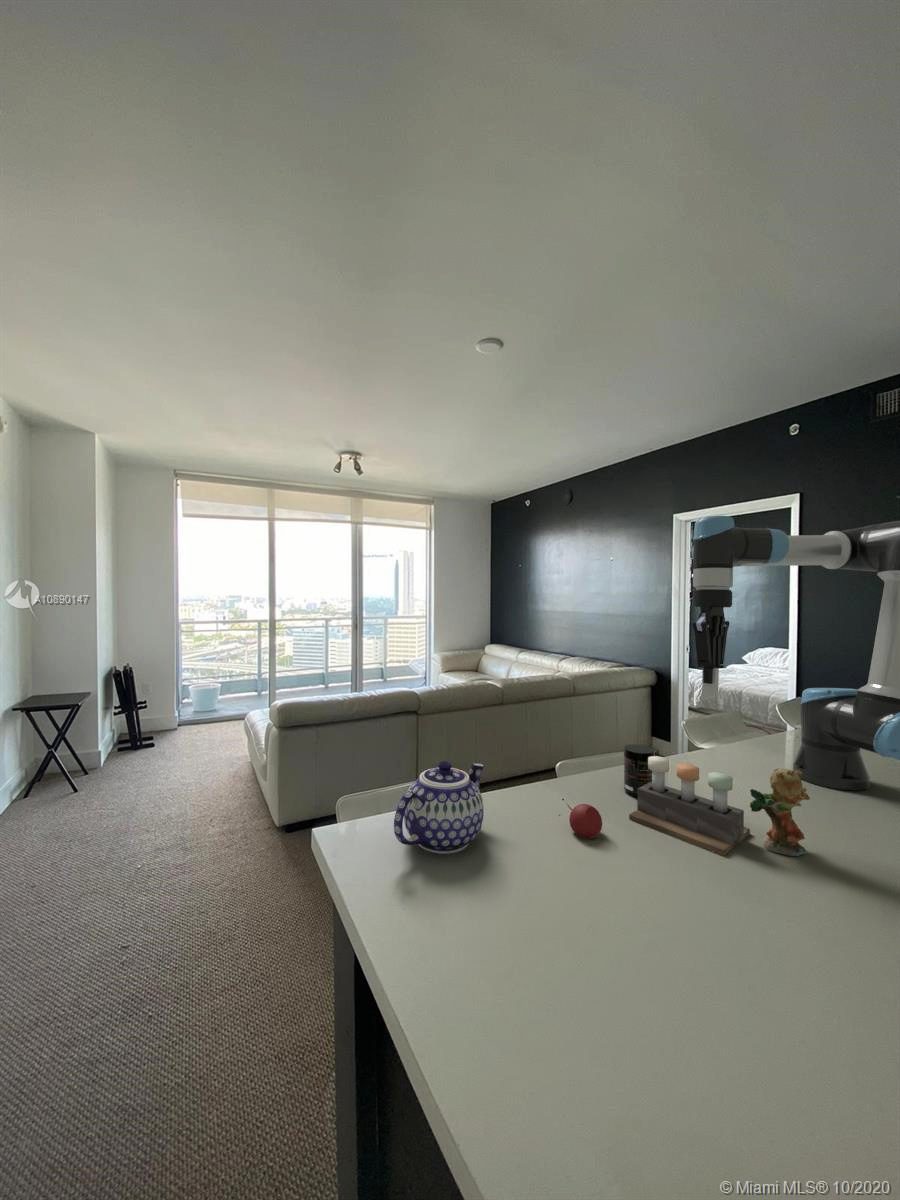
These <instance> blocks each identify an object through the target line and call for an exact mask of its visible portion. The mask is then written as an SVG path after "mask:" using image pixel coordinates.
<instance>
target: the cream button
mask: <svg viewBox="0 0 900 1200" xmlns="http://www.w3.org/2000/svg"><path fill="white" fill-rule="evenodd" d="M648 768H649V769H650V770H652V790H653V791H655V792H659V793H663V792H665V786H666V785H665V783H666V781H665V780H666V777H665V776H666V773H668V772H669V771H670V759H669V758H666V757H663V756H659V755H658V756H657V755H655V756H651V757H648Z"/></svg>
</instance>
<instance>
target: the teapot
mask: <svg viewBox="0 0 900 1200" xmlns="http://www.w3.org/2000/svg"><path fill="white" fill-rule="evenodd" d="M484 767H485V765H483V764H482V763H472V764H471V766H470V768H469V771H468V773H467V772H466V771H464V770H462V769H458V768H455V767H453V764H452V763H451V761H447V760H442V761H439V762H438V764H437V767H435V768H433V767H432V768H429V769H426V770H424V771H422V772H421V773H420V774H419V776H418V778H417V779H416V780H415V781H414V782H413V783H412V784H411V785H410V786H409V788H408V789H407V791H406V792H405V793H404V794H403V795H402V796H401V798H400V800H399V803H398V805H397V807H396V810H395V815H394V819H393V832H394V836H395V838H396V840H398V842H399V843H401V844H402V845H405V846H414V845H418V846H419V847H420V848H421V849H423V850H424V851H426V852H430V853H433V854H439V855H451V854H455V853H459V852H461V851H463V850H465V849H466V848H467V847H468V845H469V844H470V843H472V842H473V841H474V840H475V839H476V838H477V836H478V835H479V834H480V831H481V829H482V827H483V826H482V825H483V821H484V802H483V801H484V800H483V797H482V793H481V791H480V782H481V775H482V772H483V769H484ZM403 822H404V825H405V826H404V827H405V828H406V831H407V833H408V835H409V836H410V837H409V838H406V837H405V836H404V831H403Z"/></svg>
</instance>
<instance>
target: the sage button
mask: <svg viewBox="0 0 900 1200" xmlns="http://www.w3.org/2000/svg"><path fill="white" fill-rule="evenodd" d="M707 776H708V777H707V784H708V787H709V788H712V801H713V810H714V811H717V812H720V813H727V805H728V794H729V793H728V792H729V791H732V790H733V776H731V775H730V774H727V773H723V772H717V771H711V772H708V775H707Z"/></svg>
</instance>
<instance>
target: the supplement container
mask: <svg viewBox="0 0 900 1200" xmlns="http://www.w3.org/2000/svg"><path fill="white" fill-rule="evenodd" d="M655 750H656V749H654V748H653V747H651V746H648V745H647V746H646V745H644V744H643V745H642V744H627V745H626V744H625V745H624V746H623V790H624V792H625V793H626V794H627V795H629V796H630V797H634V798H637V791H638V788H640V787H642V786H644V785H646V784H648V783H650V782H652V770H650V769H649V768H648V757H651V756H656V755H655V754H656V751H655Z"/></svg>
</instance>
